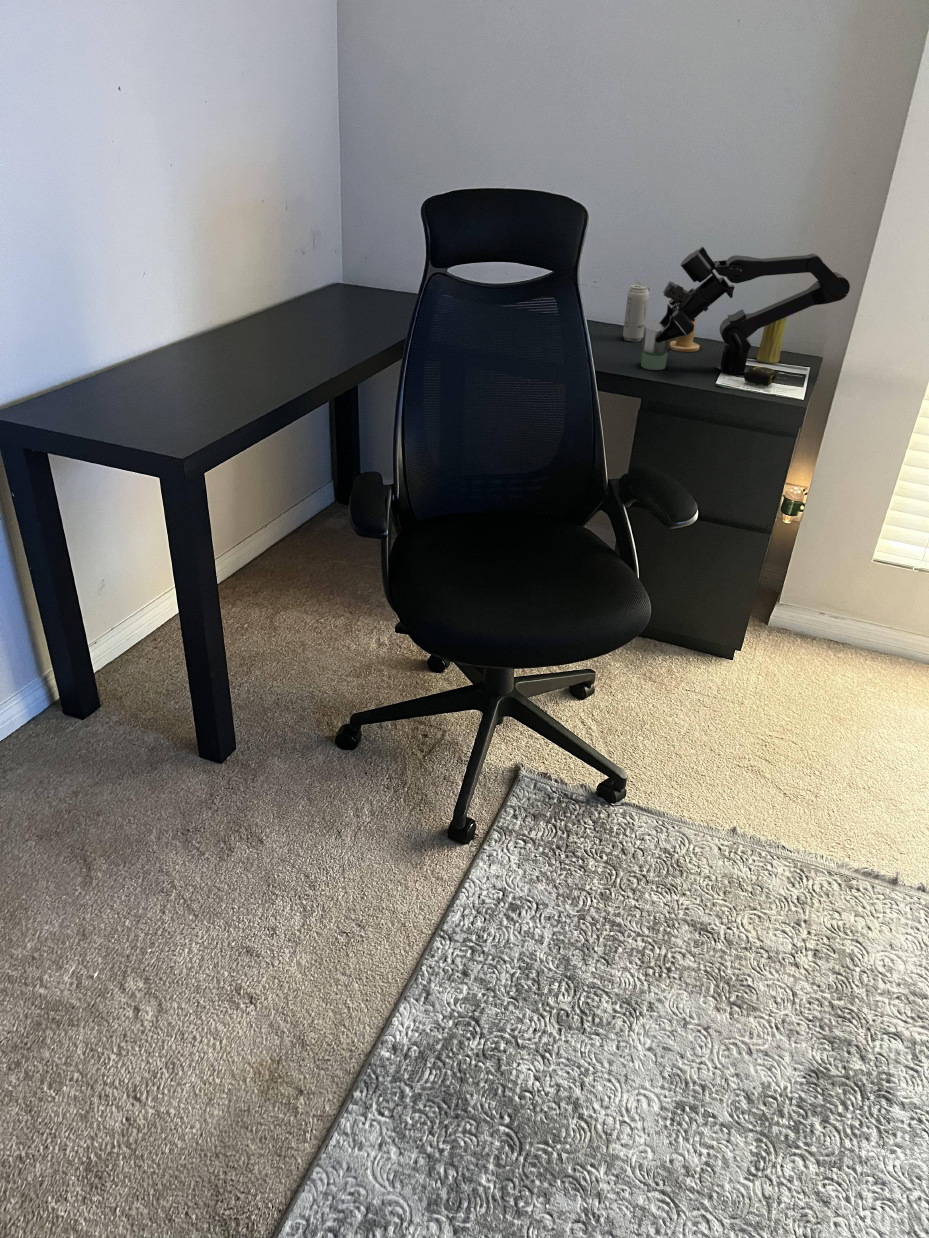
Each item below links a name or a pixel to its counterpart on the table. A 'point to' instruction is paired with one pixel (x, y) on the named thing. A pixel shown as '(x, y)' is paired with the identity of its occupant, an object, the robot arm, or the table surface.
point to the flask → (653, 361)
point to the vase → (771, 342)
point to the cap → (649, 339)
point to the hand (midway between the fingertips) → (655, 336)
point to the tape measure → (760, 376)
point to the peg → (685, 342)
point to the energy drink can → (635, 312)
